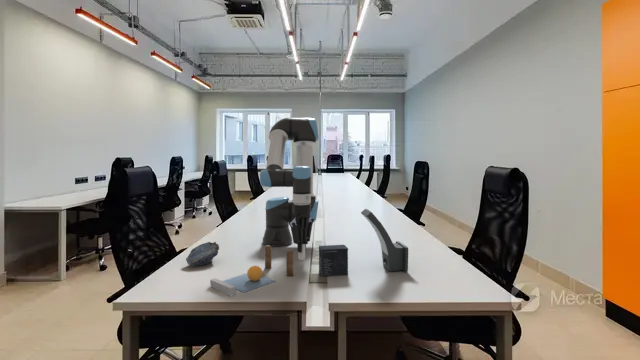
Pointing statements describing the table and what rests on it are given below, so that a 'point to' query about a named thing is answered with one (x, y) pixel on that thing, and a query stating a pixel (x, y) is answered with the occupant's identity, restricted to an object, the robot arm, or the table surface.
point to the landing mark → (247, 282)
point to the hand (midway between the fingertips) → (301, 259)
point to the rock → (202, 254)
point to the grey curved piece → (388, 246)
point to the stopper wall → (223, 286)
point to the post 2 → (289, 263)
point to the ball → (254, 273)
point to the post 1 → (267, 257)
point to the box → (333, 260)
